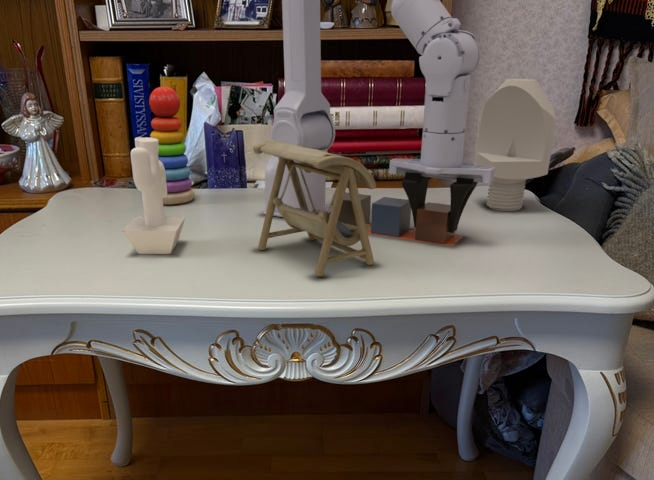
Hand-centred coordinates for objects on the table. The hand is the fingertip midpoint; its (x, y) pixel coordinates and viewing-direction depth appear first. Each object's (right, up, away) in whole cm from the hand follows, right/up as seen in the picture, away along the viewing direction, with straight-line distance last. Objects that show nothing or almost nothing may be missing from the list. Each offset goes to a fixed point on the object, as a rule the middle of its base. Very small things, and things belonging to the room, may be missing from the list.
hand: (435, 228), depth 96 cm
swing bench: (-18, -5, -7) cm, 20 cm away
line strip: (-6, 0, +4) cm, 7 cm away
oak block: (-12, +2, +6) cm, 14 cm away
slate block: (-6, 0, +4) cm, 7 cm away
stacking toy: (-43, +9, +22) cm, 49 cm away
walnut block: (0, -1, +1) cm, 1 cm away
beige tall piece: (+15, +7, +17) cm, 23 cm away
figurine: (-40, -4, -3) cm, 40 cm away
